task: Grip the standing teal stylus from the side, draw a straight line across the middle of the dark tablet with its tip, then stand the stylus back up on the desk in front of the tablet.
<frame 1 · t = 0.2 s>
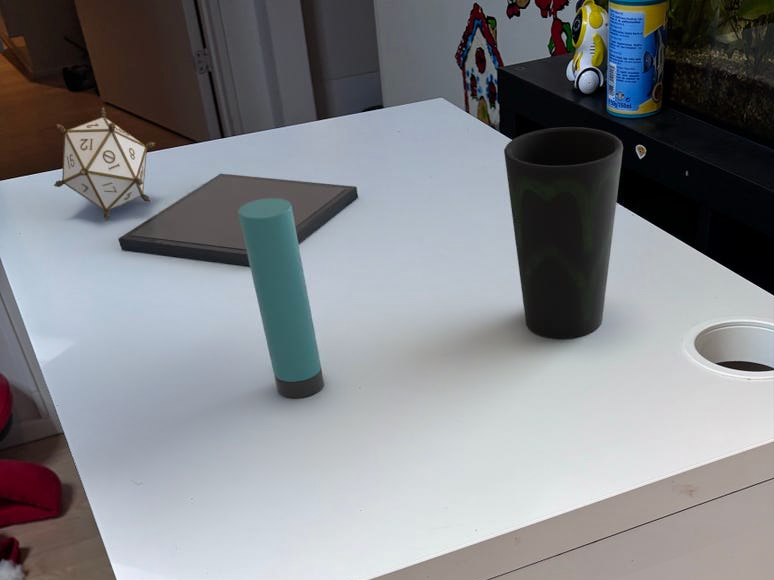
hand: (70, 17, 53), 23 cm above the table, tool pointing down, fingers open, 13 cm apart
game die: (118, 210, 96), on the table
stylus: (300, 386, 69), on the table
tablet: (243, 222, 92), on the table
cup: (563, 323, 74), on the table
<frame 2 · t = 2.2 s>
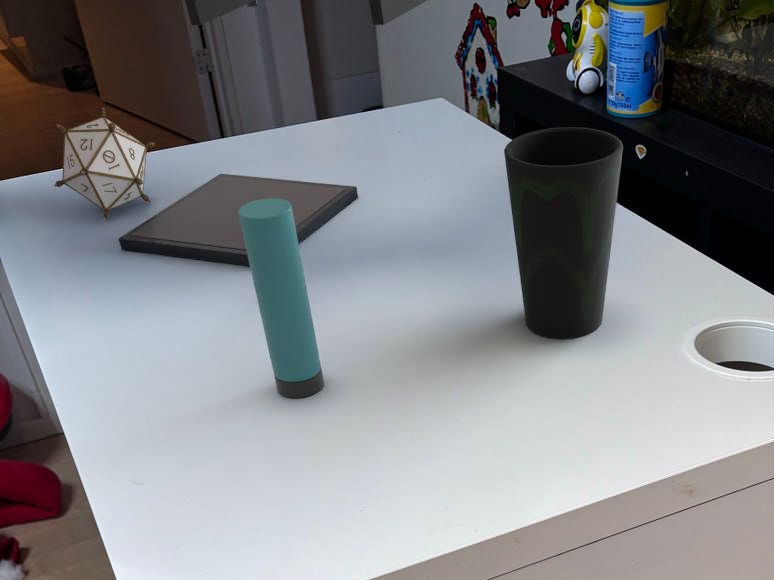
nothing on the table moved.
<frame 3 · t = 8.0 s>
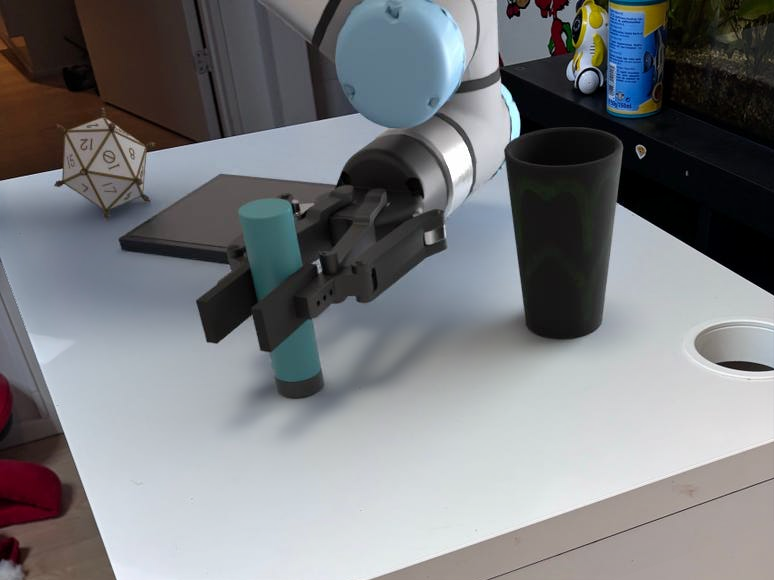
hand: (234, 326, 61), 7 cm above the table, tool horizontal, fingers closed on stylus, 3 cm apart
stylus: (300, 386, 69), on the table, touching gripper
everything else where it was.
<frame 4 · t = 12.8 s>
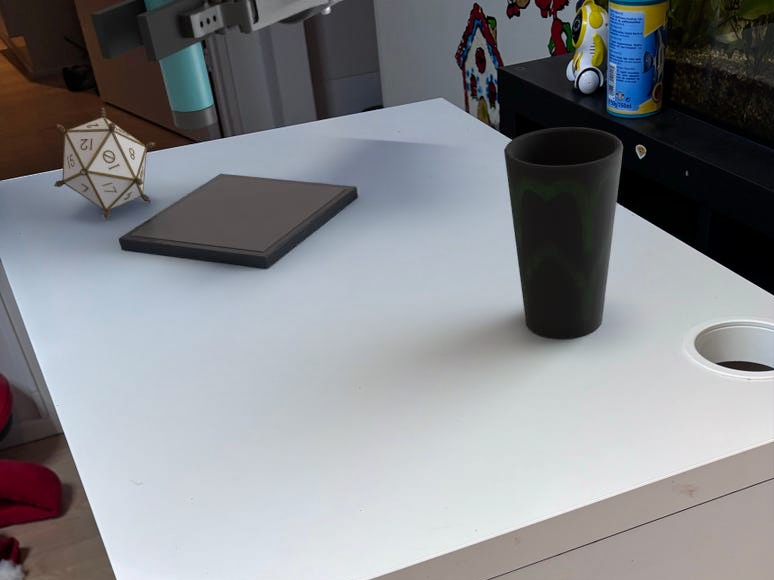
hand: (124, 37, 69), 18 cm above the table, tool horizontal, fingers closed on stylus, 3 cm apart
stylus: (196, 122, 78), point 11 cm above the table, touching gripper
everything else where it was.
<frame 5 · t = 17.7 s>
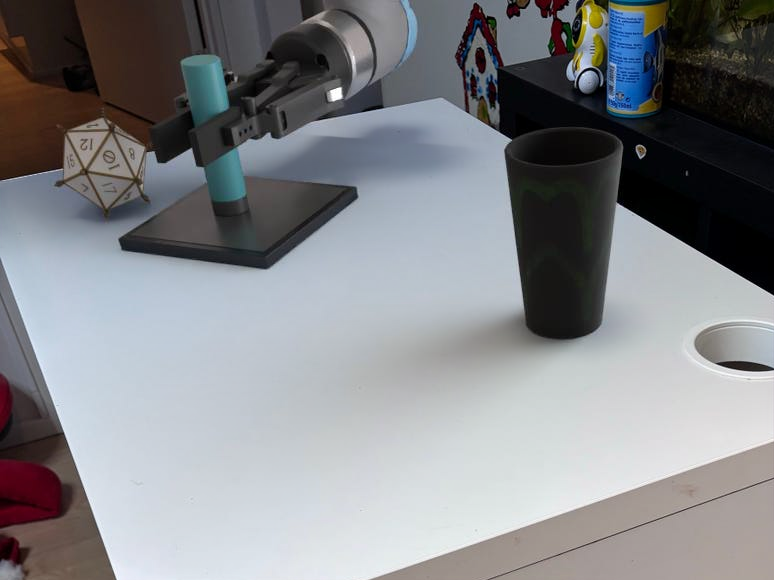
hand: (176, 147, 83), 8 cm above the table, tool horizontal, fingers closed on stylus, 3 cm apart
stylus: (231, 209, 91), point 1 cm above the table, touching gripper
everything else where it was.
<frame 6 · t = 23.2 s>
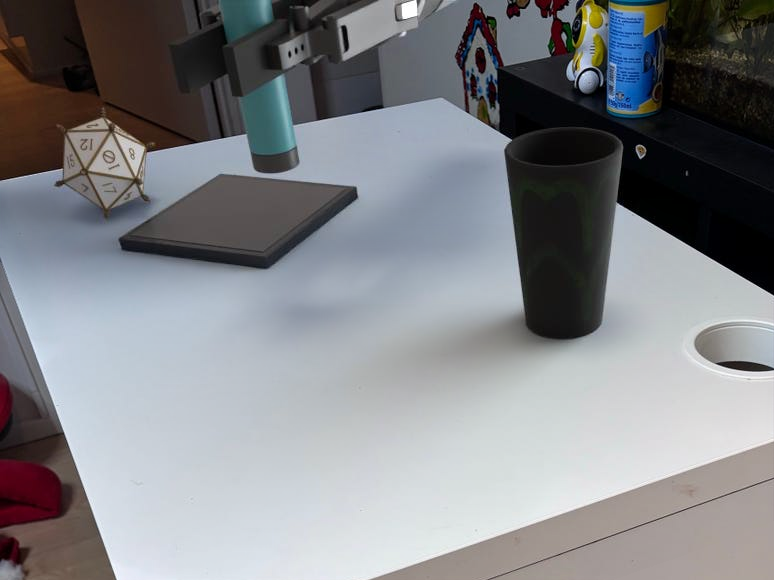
hand: (206, 70, 62), 18 cm above the table, tool horizontal, fingers closed on stylus, 3 cm apart
stylus: (276, 165, 71), point 11 cm above the table, touching gripper
everything else where it was.
when the fingers open (7 cm above the table, at t = 27.6 s): stylus stays where it is, on the table.
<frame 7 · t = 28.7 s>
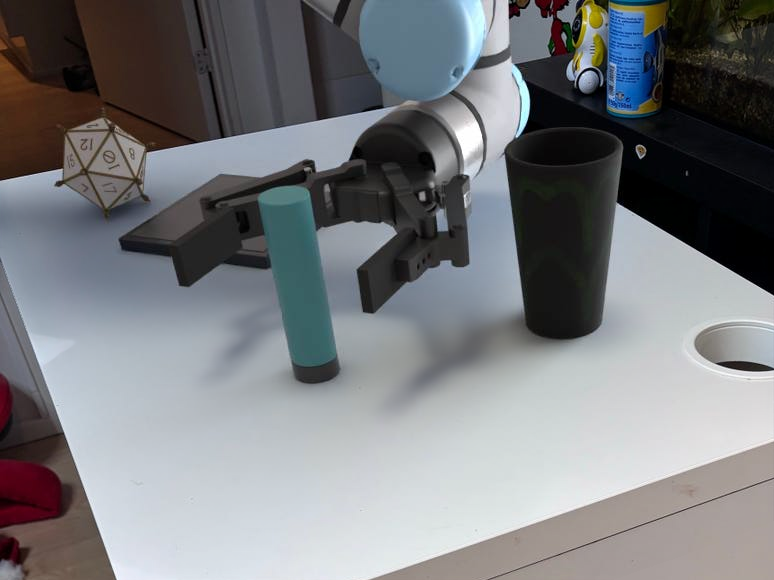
hand: (268, 279, 63), 8 cm above the table, tool horizontal, fingers open, 13 cm apart
stylus: (316, 371, 71), on the table
everything else where it was.
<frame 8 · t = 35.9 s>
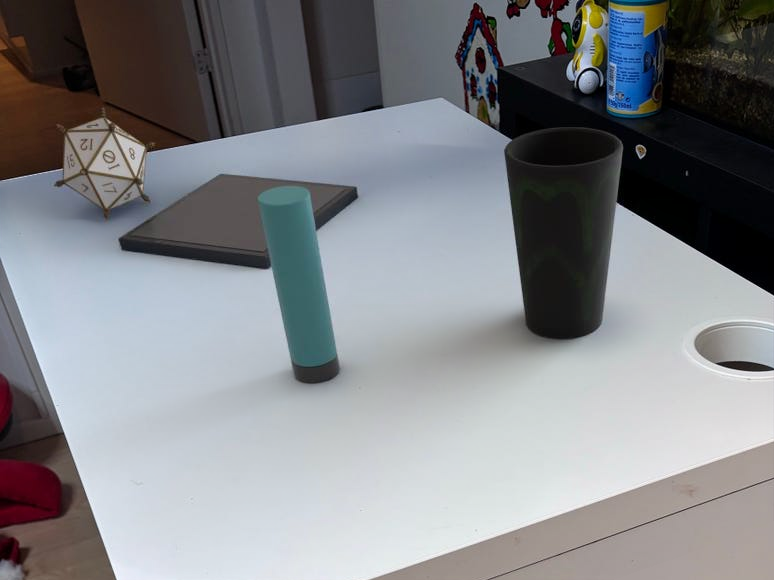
nothing on the table moved.
at the end: the gripper is holding nothing; stylus tilted 0° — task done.
